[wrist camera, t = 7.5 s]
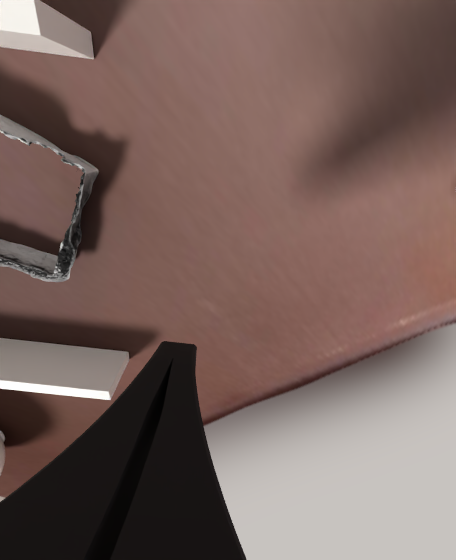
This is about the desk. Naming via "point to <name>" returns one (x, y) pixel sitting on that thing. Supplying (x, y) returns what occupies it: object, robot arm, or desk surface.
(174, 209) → the desk surface
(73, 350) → the box
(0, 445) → the lidded jar
